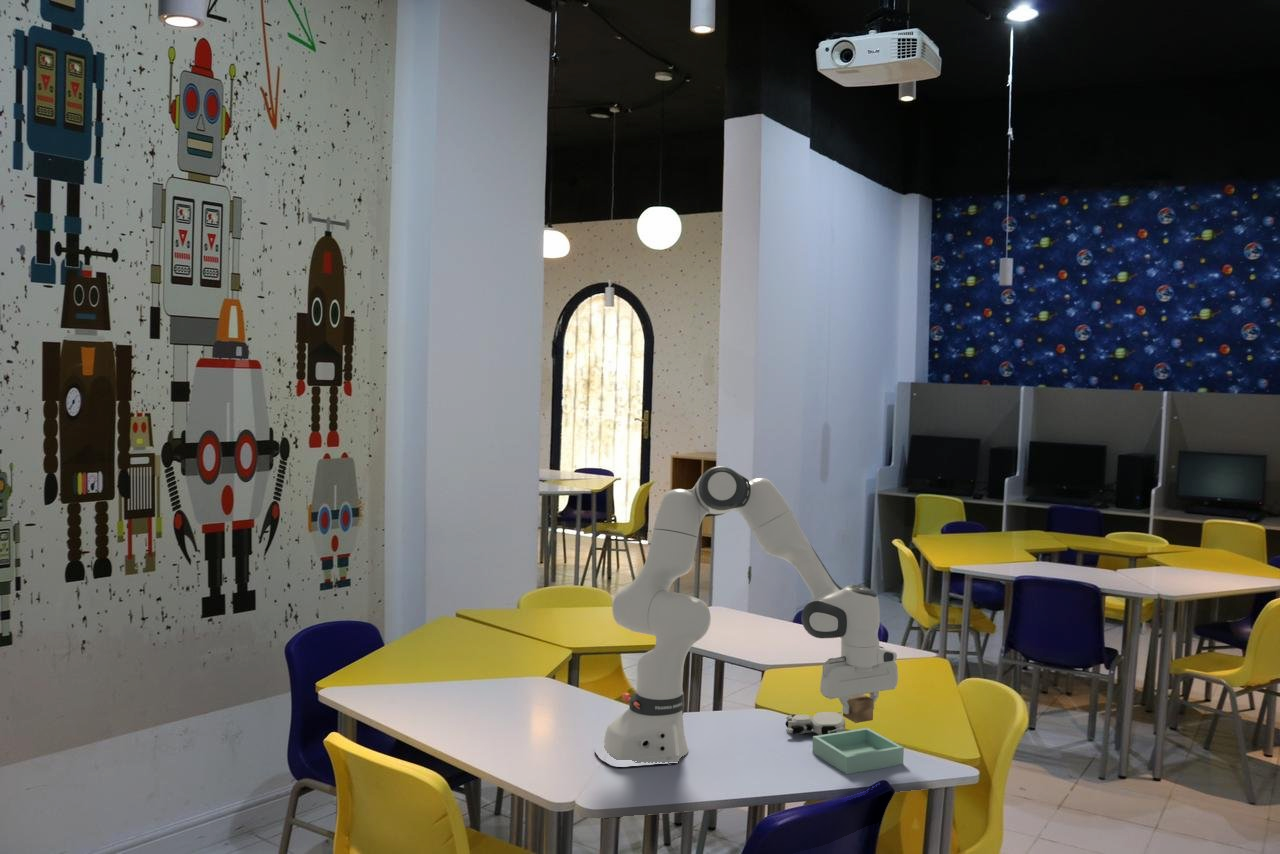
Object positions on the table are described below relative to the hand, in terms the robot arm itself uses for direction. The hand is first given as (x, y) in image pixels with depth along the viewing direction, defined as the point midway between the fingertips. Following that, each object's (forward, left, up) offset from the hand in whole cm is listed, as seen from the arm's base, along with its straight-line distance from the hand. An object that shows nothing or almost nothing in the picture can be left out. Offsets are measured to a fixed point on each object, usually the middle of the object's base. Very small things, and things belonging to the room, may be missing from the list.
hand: (858, 711), depth 242 cm
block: (0, 0, -2) cm, 2 cm away
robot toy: (0, +18, -12) cm, 21 cm away
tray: (0, -1, -11) cm, 11 cm away
